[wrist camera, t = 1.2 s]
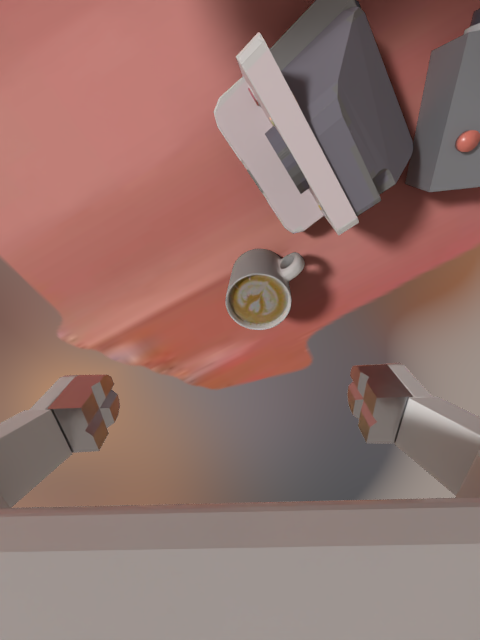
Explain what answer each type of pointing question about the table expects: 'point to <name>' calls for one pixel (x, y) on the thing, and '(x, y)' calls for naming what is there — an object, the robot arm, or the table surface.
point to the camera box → (449, 117)
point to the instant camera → (317, 118)
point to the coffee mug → (261, 288)
